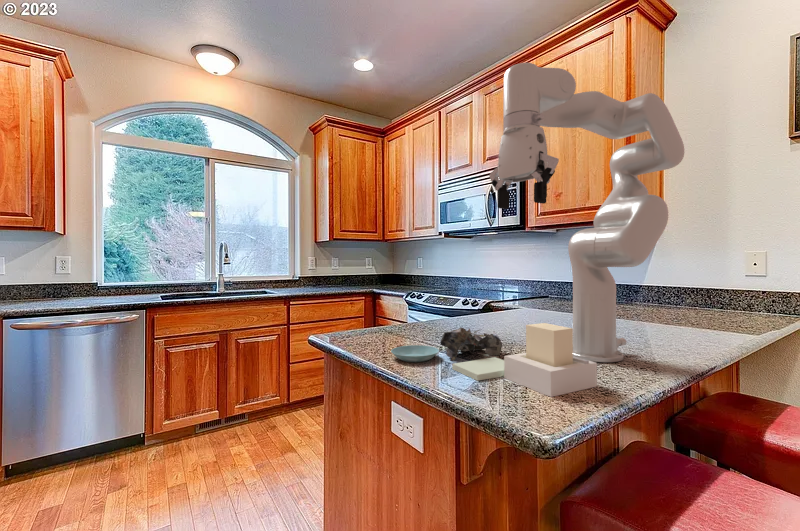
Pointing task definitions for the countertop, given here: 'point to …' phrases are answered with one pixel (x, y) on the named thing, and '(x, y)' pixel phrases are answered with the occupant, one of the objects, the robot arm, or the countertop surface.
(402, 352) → the saucer
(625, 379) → the countertop surface
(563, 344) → the cream rectangular block
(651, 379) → the countertop surface
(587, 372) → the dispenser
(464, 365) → the pad
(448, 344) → the foil
